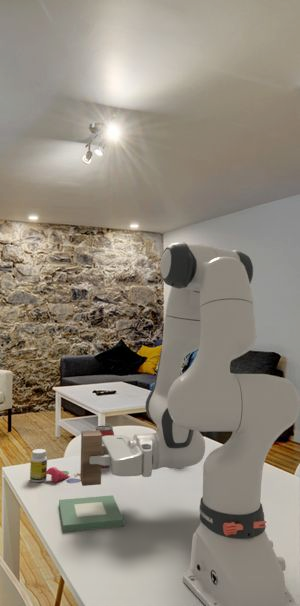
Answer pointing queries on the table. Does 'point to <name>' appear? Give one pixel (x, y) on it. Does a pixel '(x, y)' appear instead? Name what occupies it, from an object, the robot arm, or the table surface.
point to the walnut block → (89, 446)
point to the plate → (89, 513)
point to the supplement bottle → (38, 465)
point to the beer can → (105, 434)
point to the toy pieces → (61, 475)
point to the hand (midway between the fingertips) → (87, 455)
